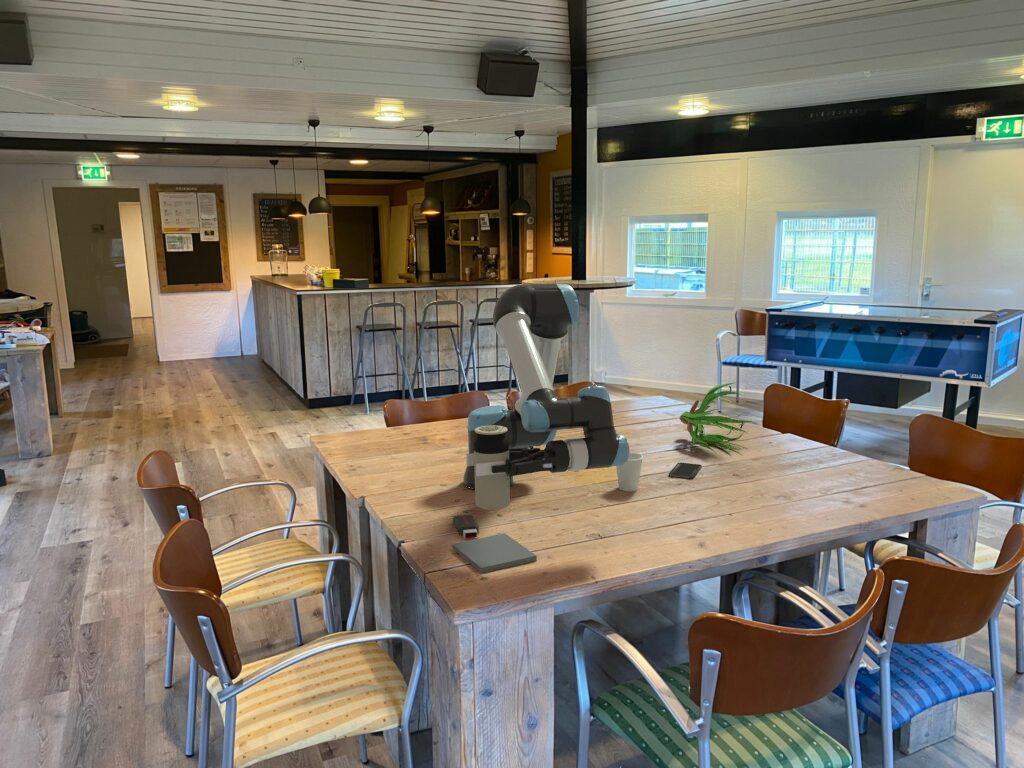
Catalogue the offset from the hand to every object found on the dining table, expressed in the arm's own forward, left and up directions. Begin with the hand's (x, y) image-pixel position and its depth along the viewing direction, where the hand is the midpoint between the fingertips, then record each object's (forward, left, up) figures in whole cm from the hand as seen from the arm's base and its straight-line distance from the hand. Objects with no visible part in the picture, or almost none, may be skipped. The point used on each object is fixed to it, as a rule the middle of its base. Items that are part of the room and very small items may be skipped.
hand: (471, 464), depth 171 cm
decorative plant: (-50, +117, -22) cm, 129 cm away
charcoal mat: (+1, +5, -22) cm, 23 cm away
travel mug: (+1, +5, -10) cm, 11 cm away
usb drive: (-17, +6, -23) cm, 29 cm away
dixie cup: (-24, +62, -22) cm, 70 cm away
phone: (-29, +88, -23) cm, 95 cm away
